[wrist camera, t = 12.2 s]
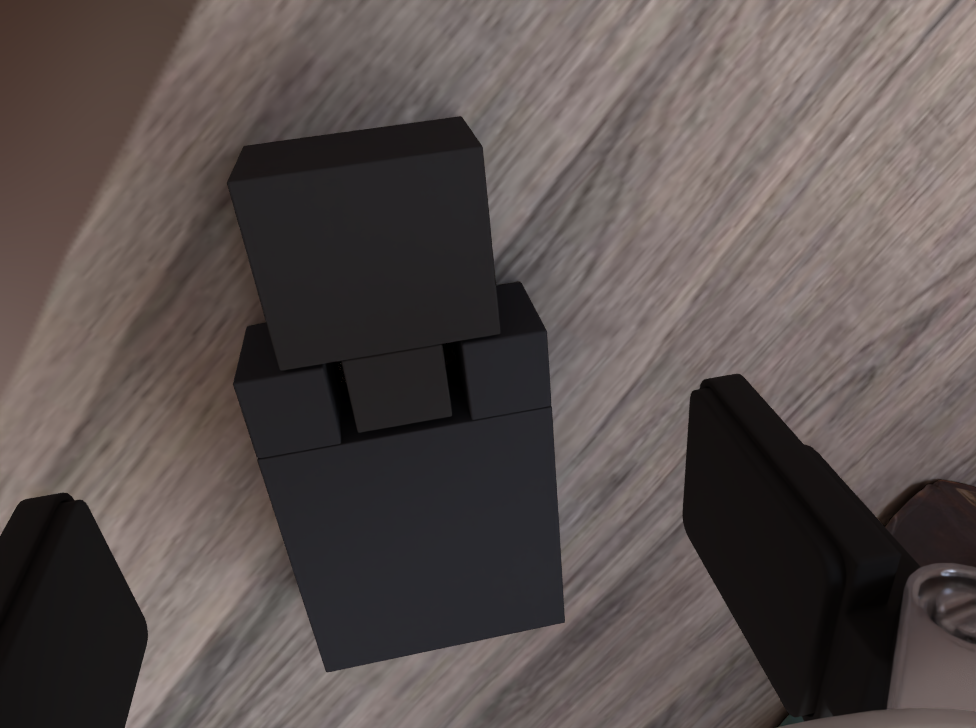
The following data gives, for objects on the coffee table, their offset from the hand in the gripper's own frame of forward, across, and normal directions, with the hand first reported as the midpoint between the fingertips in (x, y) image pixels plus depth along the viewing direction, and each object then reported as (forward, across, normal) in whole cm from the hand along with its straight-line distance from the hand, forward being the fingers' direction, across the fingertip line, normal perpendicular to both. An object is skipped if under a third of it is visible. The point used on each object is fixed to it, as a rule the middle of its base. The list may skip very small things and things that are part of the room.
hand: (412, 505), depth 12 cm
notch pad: (+15, 0, +11) cm, 19 cm away
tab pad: (+15, 0, +2) cm, 16 cm away
